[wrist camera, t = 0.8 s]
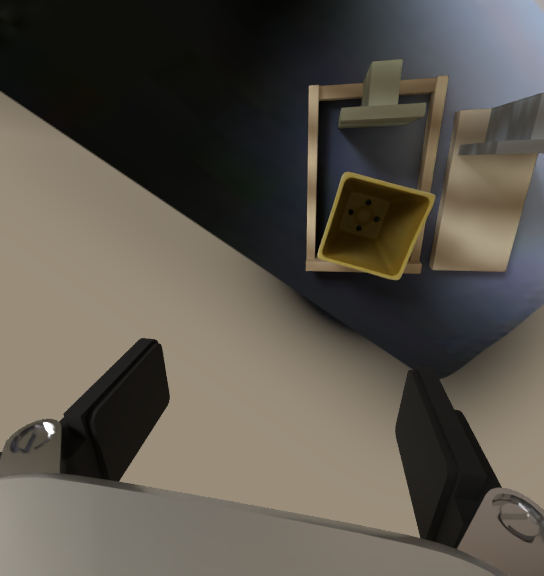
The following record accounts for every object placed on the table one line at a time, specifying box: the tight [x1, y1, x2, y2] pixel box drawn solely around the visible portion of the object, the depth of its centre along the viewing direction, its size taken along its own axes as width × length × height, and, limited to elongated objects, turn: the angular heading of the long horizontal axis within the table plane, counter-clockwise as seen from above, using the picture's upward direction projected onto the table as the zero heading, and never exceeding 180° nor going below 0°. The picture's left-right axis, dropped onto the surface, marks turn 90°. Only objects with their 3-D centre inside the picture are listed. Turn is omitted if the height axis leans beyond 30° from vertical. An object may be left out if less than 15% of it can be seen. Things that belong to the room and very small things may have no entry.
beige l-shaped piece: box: [429, 93, 544, 272], centre depth 31 cm, size 17×8×10 cm, turn 2°
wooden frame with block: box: [306, 59, 449, 274], centre depth 33 cm, size 20×14×8 cm
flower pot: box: [317, 172, 436, 280], centre depth 34 cm, size 9×9×9 cm
